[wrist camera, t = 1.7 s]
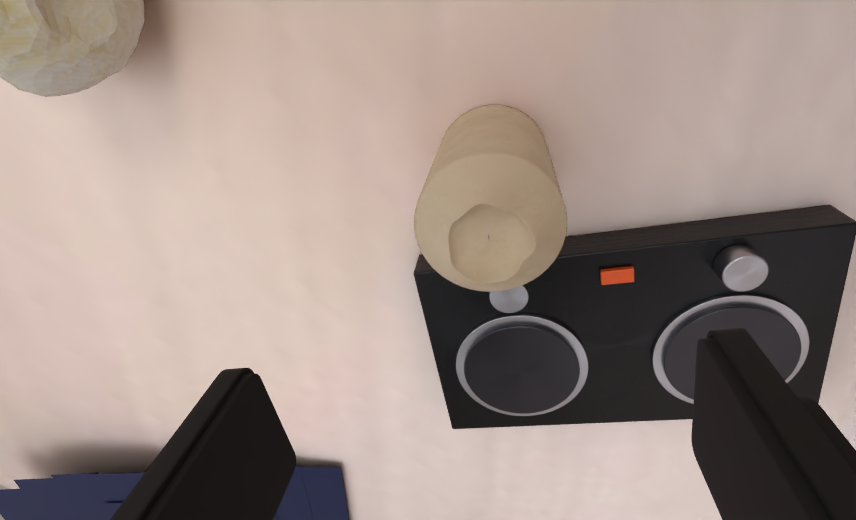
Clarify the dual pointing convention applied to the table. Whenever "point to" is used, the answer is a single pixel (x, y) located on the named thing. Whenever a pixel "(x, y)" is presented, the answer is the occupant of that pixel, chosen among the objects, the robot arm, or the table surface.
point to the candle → (491, 202)
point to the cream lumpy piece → (66, 42)
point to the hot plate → (639, 319)
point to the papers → (104, 493)
